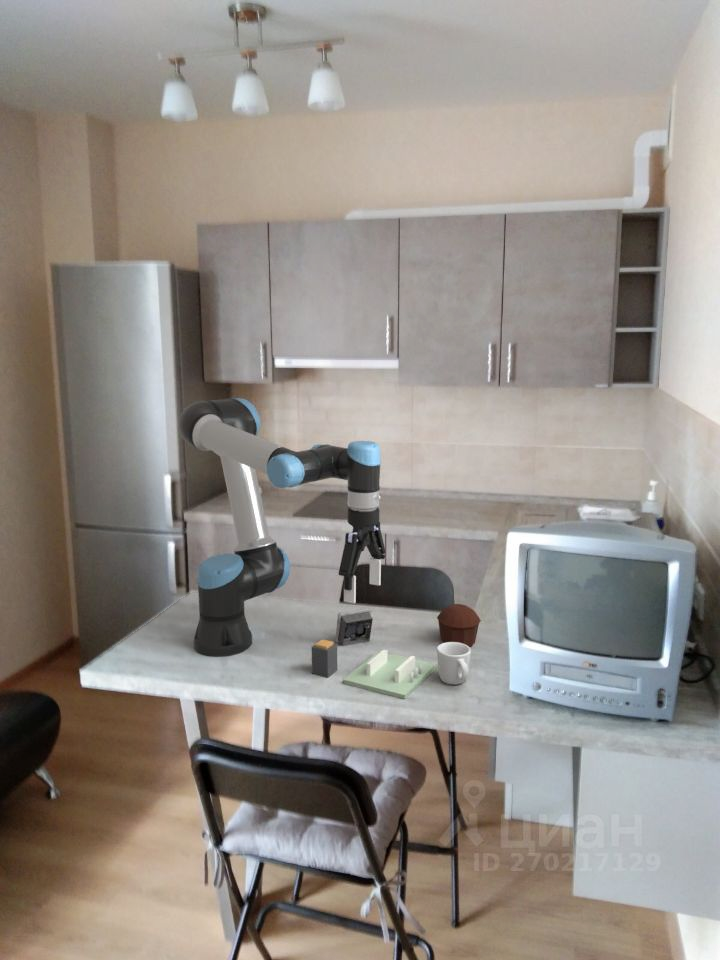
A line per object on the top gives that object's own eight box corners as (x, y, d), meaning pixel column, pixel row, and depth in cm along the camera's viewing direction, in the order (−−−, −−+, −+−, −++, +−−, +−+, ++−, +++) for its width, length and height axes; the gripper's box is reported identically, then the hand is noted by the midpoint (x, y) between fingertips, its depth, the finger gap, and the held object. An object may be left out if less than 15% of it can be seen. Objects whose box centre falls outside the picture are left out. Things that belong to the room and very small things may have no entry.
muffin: (428, 638, 202) (429, 603, 200) (462, 630, 207) (463, 596, 205) (453, 654, 192) (454, 618, 190) (488, 646, 197) (489, 610, 195)
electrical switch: (366, 635, 204) (367, 604, 201) (374, 644, 199) (375, 613, 197) (334, 641, 200) (335, 610, 198) (341, 651, 196) (342, 618, 193)
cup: (480, 690, 173) (481, 658, 171) (448, 695, 171) (449, 662, 169) (461, 670, 183) (462, 639, 182) (431, 674, 181) (431, 643, 179)
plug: (311, 673, 182) (311, 644, 180) (321, 666, 186) (321, 637, 184) (327, 678, 180) (327, 648, 178) (337, 670, 183) (337, 641, 182)
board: (343, 683, 177) (343, 667, 176) (378, 654, 192) (378, 640, 191) (404, 699, 169) (405, 682, 168) (436, 667, 185) (436, 652, 184)
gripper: (353, 521, 164) (352, 613, 168) (399, 498, 186) (398, 579, 190) (323, 517, 167) (323, 607, 172) (372, 495, 189) (371, 575, 193)
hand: (362, 593), depth 181 cm, fingers open, 13 cm apart
